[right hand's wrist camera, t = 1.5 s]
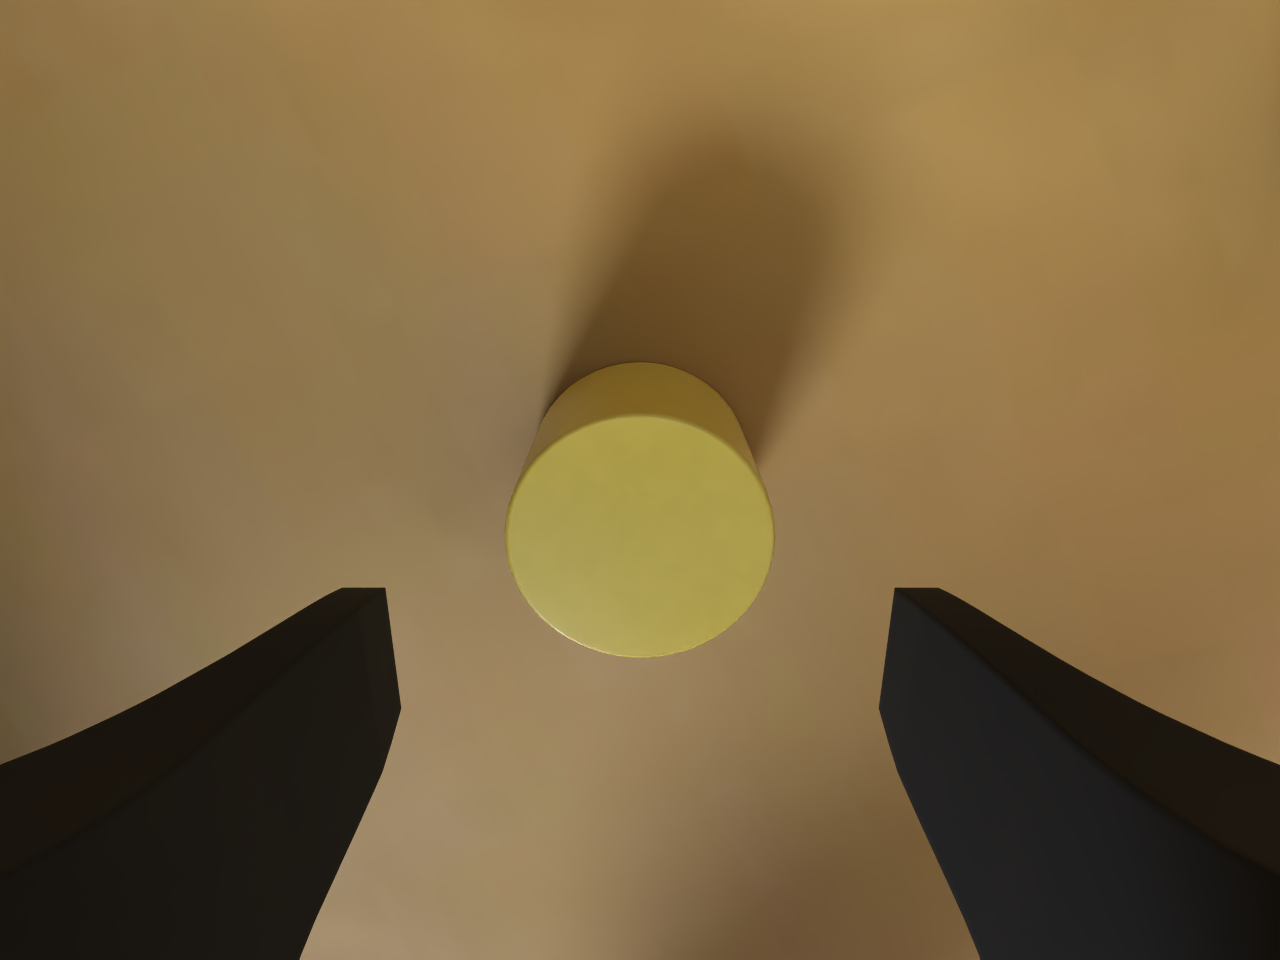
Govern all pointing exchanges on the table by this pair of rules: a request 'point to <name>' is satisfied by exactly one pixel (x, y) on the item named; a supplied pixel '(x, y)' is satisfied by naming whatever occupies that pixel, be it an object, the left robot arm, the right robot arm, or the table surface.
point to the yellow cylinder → (640, 514)
